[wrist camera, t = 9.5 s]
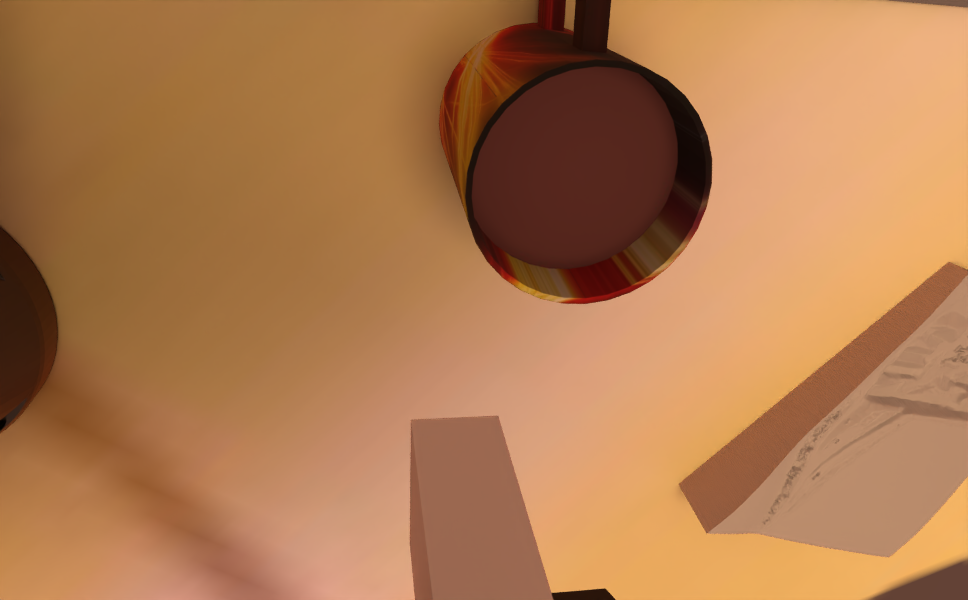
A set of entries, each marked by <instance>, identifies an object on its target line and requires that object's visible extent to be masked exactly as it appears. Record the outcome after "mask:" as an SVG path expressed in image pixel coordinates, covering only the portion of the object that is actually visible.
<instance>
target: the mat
mask: <svg viewBox="0 0 968 600" xmlns="http://www.w3.org/2000/svg"><path fill="white" fill-rule="evenodd" d="M890 1H902V2H913V3H925V4H936V5H947V6H959V7H968V0H890Z"/></svg>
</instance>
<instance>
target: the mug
mask: <svg viewBox="0 0 968 600" xmlns="http://www.w3.org/2000/svg"><path fill="white" fill-rule="evenodd" d="M565 4H566V0H539V10H538V23H529V24H522V25H515V26H511V27H509V28H506V29H503V30H500V31H497V32H495V33H493V34H492V35H490V36H488V37H487V38H485V39H483V40H482V41H480V42H479V43H478V44H477V45H475V46H474V47H473V48H472V49H471V50H470V51H469V52H468V53H467V54H466V55H465V56H464V57H463V58H462V60H461V61H460V62H459V64H458V65H457V66H456V68H455V69H454V70H453V72H452V75H451V77H450V79H449V81H448V83H447V85H446V87H445V90H444V94H443V98H442V102H441V106H440V120H439V127H440V135H441V142H442V146H443V149H444V151H445V154H446V157H447V160H448V163H449V166H450V169H451V172H452V175H453V178H454V181H455V184H456V187H457V190H458V193H459V196H460V198H461V201H462V204H463V207H464V210H465V213H466V216H467V219H468V222H469V225H470V228H471V231H472V233H473V236H474V239H475V242H476V244H477V245H478V247H479V249H480V250H481V252H482V254H483V255H484V257H485V259H486V260H487V262H488V263H489V264H490V265H491V266H492V267H493V268H494V269H495V270H496V271H497V272H498V273H499V274H500V276H501V277H502V278H504V279H505V280H507V281H508V282H509V283H511V284H512V285H514V286H515V287H517V288H518V289H520V290H521V291H524V292H526V293H528V294H531V295H533V296H535V297H538V298H540V299H544V300H549V301H554V302H558V303H566V304H588V303H594V302H600V301H606V300H610V299H613V298H616V297H619V296H621V295H624V294H627V293H630V292H632V291H634V290H635V289H637V288H639V287H641V286H643V285H645V284H646V283H648V282H650V281H651V280H653V279H654V278H655V277H656V276H658V275H659V274H660V273H661V272H663V271H664V270H665V269H667V268H668V267H669V266H670V265H671V264H672V263H673V262H674V260H675V259H676V258H677V257H678V256H679V255H680V254H681V253H682V252H683V250H684V249H685V248H686V246H687V245H688V243H689V242H690V240H691V238H692V237H693V235H694V234H695V232H696V231H697V229H698V227H699V224H700V222H701V219H702V217H703V215H704V212H705V210H706V207H707V203H708V199H709V194H710V189H711V184H712V156H711V151H710V146H709V140H708V136H707V133H706V131H705V129H704V126H703V124H702V121H701V119H700V117H699V115H698V113H697V112H696V110H695V109H694V107H693V106H692V105H691V103H690V102H689V100H688V99H687V98H686V96H685V95H684V94H683V93H682V92H681V91H679V90H678V89H677V88H676V87H675V86H674V85H673V84H672V83H671V82H669V81H668V80H667V79H665V78H663V77H662V76H660V75H658V74H656V73H654V72H653V71H651V70H649V69H647V68H645V67H643V66H641V65H639V64H637V63H635V62H633V61H631V60H629V59H627V58H625V57H623V56H621V55H619V54H617V53H615V52H613V51H611V50H609V49H607V40H608V29H609V18H610V7H611V0H576V6H575V20H574V32H573V31H571V30H569V29H565V28H564V19H565Z"/></svg>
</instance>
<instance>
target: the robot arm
mask: <svg viewBox="0 0 968 600" xmlns="http://www.w3.org/2000/svg"><path fill="white" fill-rule="evenodd" d="M56 348H57V322H56V316H55V311H54V307H53V304H52V300H51V297H50V295H49V292H48V290H47V288H46V285H45V283H44V281H43V279H42V278H41V276H40V274H39V272H38V271H37V269H36V268H35V266H34V265H33V263H32V262H31V260H30V259H29V258H28V256H27V255H26V254H25V252H24V251H23V250H22V249H21V248H20V247H19V246H18V244H17V243H16V242H15V241H14V240H13V239H12V238H11V237H10V236H9V235H8V234H7V233H6V232H4V231H3V230H2V229H1V228H0V433H2V432H3V431H4V430H6V429H7V428H8V427H9V426H10V425H11V424H12V423H13V422H15V421H16V420H17V419H18V418H19V417H20V415H21V414H22V413H23V412H24V411H25V409H26V408H27V407H28V405H29V404H30V403H31V401H32V400H33V398H34V397H35V396H36V394H37V393H38V392H39V390H40V389H41V387H42V386H43V384H44V383H45V381H46V379H47V377H48V375H49V373H50V371H51V368H52V365H53V362H54V358H55V354H56ZM410 551H411V561H412V572H413V582H414V593H415V600H615V598H614V597H613V596H612V595H611V594H610V593H609V592H608V591H607V590H606V589H595V590H583V591H571V592H559V593H551V590H550V587H549V584H548V580H547V577H546V574H545V570H544V567H543V564H542V560H541V557H540V554H539V550H538V547H537V544H536V540H535V537H534V534H533V530H532V527H531V524H530V520H529V517H528V514H527V511H526V507H525V504H524V501H523V497H522V494H521V491H520V487H519V484H518V481H517V477H516V474H515V471H514V467H513V464H512V461H511V457H510V454H509V451H508V447H507V444H506V441H505V437H504V434H503V431H502V427H501V424H500V421H499V417H498V416H483V417H461V418H440V419H418V420H411V473H410Z"/></svg>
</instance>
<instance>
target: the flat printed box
mask: <svg viewBox="0 0 968 600" xmlns="http://www.w3.org/2000/svg"><path fill="white" fill-rule="evenodd" d="M967 476H968V270H965V269H964V268H961V267H959V266H956V265H955V264H952V263H950V262H949V263H947V264H946V265H945V266H943V267H942V268H941V269H940V270H938V271H937V272H936V273H935V274H934V275H932V276H931V277H930V278H929V279H927V280H926V281H925V282H924V283H923V284H922V285H920V286H919V287H918V288H917V289H915V290H914V291H913V292H912V293H910V294H909V295H908V296H907V297H906V298H904V299H903V300H902V301H901V302H899V303H898V304H897V305H896V306H895V307H893V308H892V309H891V310H890V311H888V312H887V313H886V314H885V315H884V316H883V317H881V318H880V319H879V320H878V321H876V322H875V323H874V324H873V325H871V326H870V327H869V328H868V329H867V330H865V331H864V332H863V333H862V334H860V335H859V336H858V337H857V338H856V339H854V340H853V341H852V342H851V343H850V344H848V345H847V346H846V347H845V348H844V349H842V350H841V351H840V352H839V353H837V354H836V355H835V356H834V357H832V358H831V359H830V360H829V361H828V362H827V363H825V364H824V365H823V366H822V367H820V368H819V369H818V370H817V371H816V372H815V373H813V374H812V375H811V376H810V377H808V378H807V379H806V380H805V381H804V382H803V383H801V384H800V385H799V386H798V387H796V388H795V389H793V390H792V391H791V392H790V393H789V394H788V395H786V396H785V397H784V398H783V399H782V400H780V401H779V402H778V403H777V404H776V405H774V406H773V407H772V408H771V409H770V410H768V411H767V412H766V413H764V414H763V415H762V416H761V417H760V418H758V419H757V420H756V421H755V422H754V423H753V424H751V425H750V426H749V427H748V428H747V429H745V430H744V431H743V432H741V433H740V434H739V435H738V436H737V437H735V438H734V439H733V440H732V441H731V442H730V443H728V444H727V445H726V446H724V447H723V448H722V449H721V450H720V451H718V452H717V453H716V454H715V455H714V456H712V457H711V458H710V459H709V460H707V461H706V462H705V463H704V464H703V465H702V466H700V467H699V468H698V469H696V470H695V471H694V472H693V473H692V474H691V475H689V476H688V477H687V478H685V479H684V480H683V481H682V482H681V483H680V484H679V486H680V488H681V489H682V491H683V493H684V495H685V496H686V498H687V500H688V502H689V503H690V505H691V507H692V509H693V510H694V512H695V514H696V516H697V517H698V519H699V521H700V523H701V524H702V526H703V528H704V530H705V531H706V533H710V534H744V533H745V534H746V533H747V534H748V533H755V534H761V535H762V534H763V535H766V536H770V537H774V538H780V539H784V540H789V541H795V542H799V543H805V544H810V545H814V546H819V547H825V548H830V549H831V548H832V549H838V550H843V551H849V552H856V553H862V554H867V555H875V556H881V557H890V556H891V555H892V554H894V553H895V552H896V551H897V550H899V549H900V548H901V547H902V546H903V545H904V544H906V543H907V542H908V541H909V540H910V539H911V538H912V537H914V536H915V535H916V534H917V533H918V531H920V530H921V529H922V528H923V526H925V524H927V522H928V521H929V520H930V519H931V518H932V517H933V516H934V515H935V514H936V513H937V511H938V510H939V509H940V508H941V507H942V506H943V504H945V502H946V501H947V500H948V499H949V498H950V497H951V495H952V494H953V493H954V492H955V491H956V490H957V489H958V487H959V486H960V485H961V484H962V483H963V481H964V480H965V479H966V478H967Z"/></svg>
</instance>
